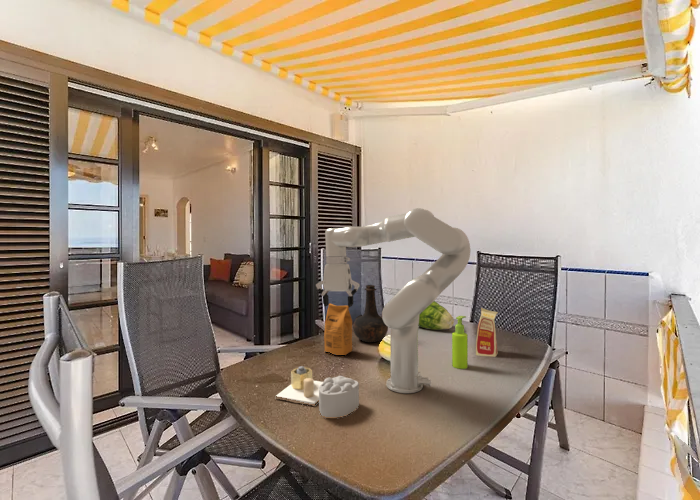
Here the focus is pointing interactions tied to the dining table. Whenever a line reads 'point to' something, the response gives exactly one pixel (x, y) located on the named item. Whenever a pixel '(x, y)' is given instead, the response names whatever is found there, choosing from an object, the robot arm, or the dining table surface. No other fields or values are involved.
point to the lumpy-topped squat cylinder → (338, 396)
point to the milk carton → (486, 334)
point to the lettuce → (435, 317)
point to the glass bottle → (370, 320)
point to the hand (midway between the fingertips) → (338, 306)
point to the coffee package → (338, 330)
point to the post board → (307, 394)
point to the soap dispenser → (459, 346)
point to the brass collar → (299, 378)
